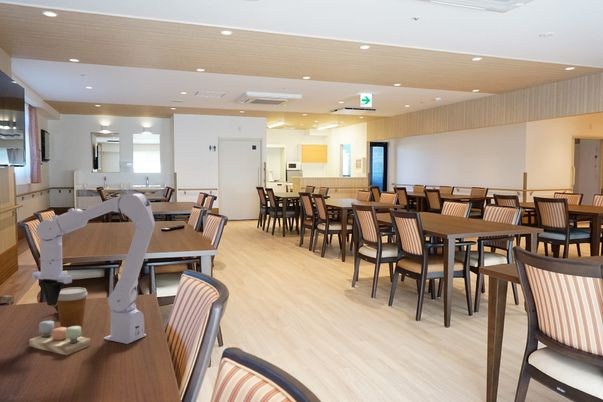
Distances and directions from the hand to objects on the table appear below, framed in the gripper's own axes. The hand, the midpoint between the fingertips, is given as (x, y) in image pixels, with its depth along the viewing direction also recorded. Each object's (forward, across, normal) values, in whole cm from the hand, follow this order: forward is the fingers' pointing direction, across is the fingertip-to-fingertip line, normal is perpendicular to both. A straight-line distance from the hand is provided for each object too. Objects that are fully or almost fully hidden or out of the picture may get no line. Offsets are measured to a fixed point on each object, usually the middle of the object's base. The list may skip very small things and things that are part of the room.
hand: (52, 304), depth 135 cm
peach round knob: (+10, +7, -3) cm, 12 cm away
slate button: (+9, +1, -3) cm, 9 cm away
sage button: (+9, +13, -3) cm, 16 cm away
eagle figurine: (+11, -18, +19) cm, 28 cm away
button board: (+10, +7, -3) cm, 13 cm away
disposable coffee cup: (+11, -4, +10) cm, 15 cm away
